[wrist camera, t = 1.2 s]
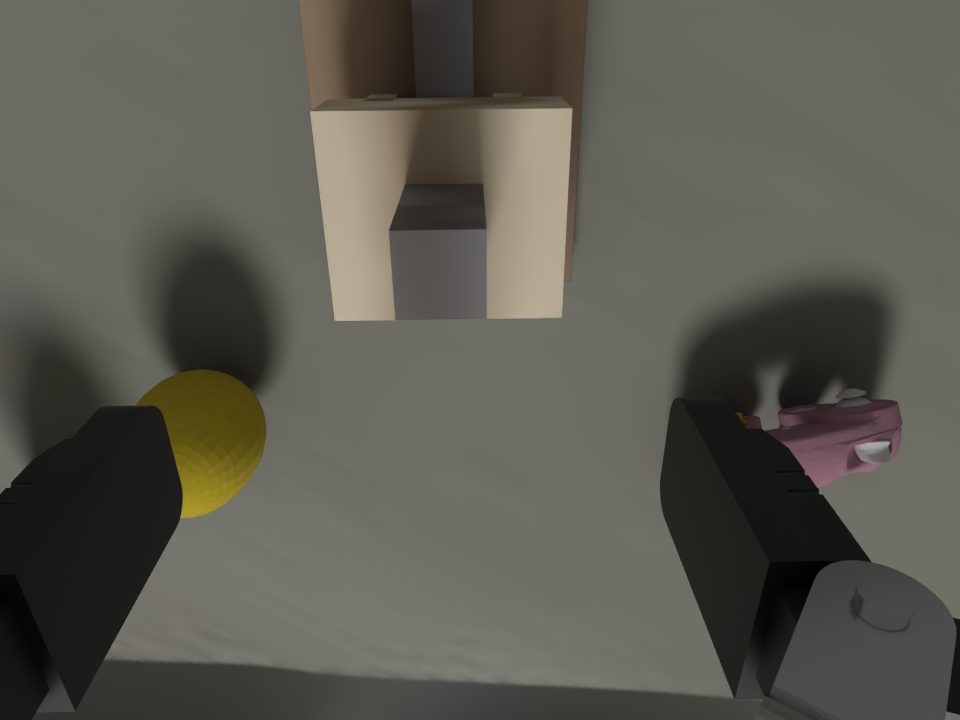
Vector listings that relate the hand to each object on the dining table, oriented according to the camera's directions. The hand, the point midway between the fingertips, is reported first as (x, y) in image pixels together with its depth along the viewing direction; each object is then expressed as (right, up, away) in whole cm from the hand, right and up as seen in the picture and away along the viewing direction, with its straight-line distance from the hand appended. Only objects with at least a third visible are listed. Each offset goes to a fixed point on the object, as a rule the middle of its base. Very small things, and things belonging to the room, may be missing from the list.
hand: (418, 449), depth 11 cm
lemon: (-11, 0, +22) cm, 25 cm away
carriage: (0, +8, +15) cm, 17 cm away
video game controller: (+15, -2, +23) cm, 28 cm away
